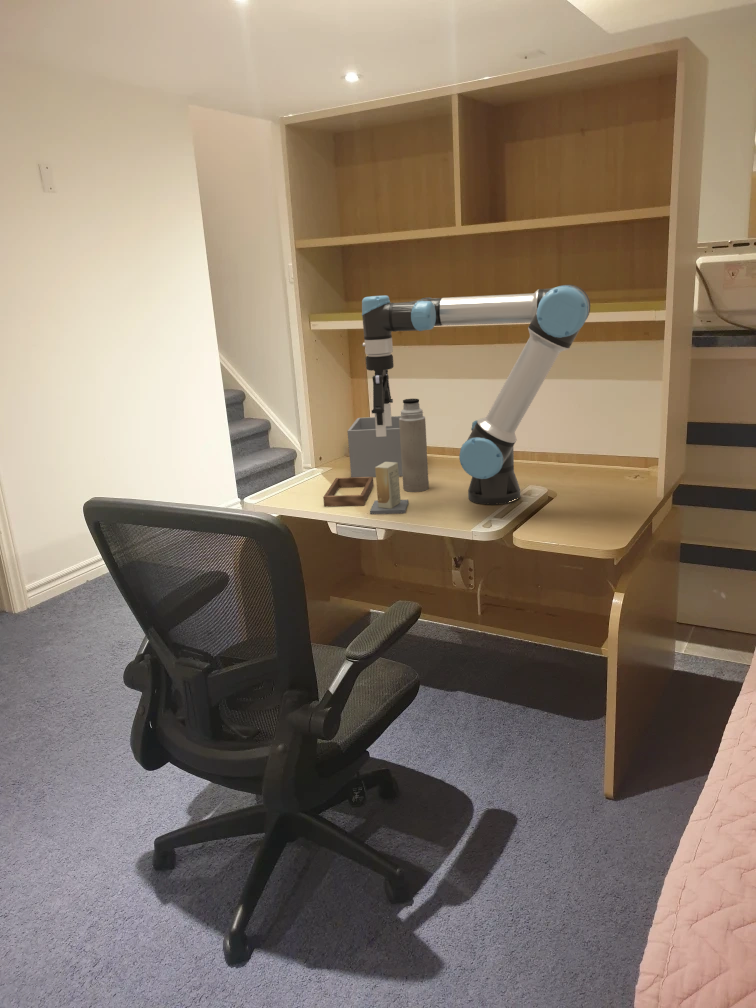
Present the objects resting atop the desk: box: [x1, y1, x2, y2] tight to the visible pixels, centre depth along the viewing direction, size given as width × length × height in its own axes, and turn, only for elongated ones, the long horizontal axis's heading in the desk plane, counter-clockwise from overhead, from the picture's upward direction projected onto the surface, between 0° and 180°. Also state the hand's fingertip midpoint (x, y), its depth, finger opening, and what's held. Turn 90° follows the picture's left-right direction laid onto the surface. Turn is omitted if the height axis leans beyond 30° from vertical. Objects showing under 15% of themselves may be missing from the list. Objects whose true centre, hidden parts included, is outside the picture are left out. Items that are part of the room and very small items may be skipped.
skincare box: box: [375, 462, 402, 509], centre depth 222 cm, size 6×4×12 cm
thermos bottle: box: [399, 398, 430, 493], centre depth 238 cm, size 8×8×28 cm
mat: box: [369, 499, 409, 515], centre depth 224 cm, size 10×10×1 cm
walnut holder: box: [322, 476, 374, 507], centre depth 239 cm, size 12×21×3 cm, turn 173°
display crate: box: [347, 415, 403, 478], centre depth 266 cm, size 22×22×16 cm
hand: (384, 431), depth 217 cm, fingers open, 13 cm apart
